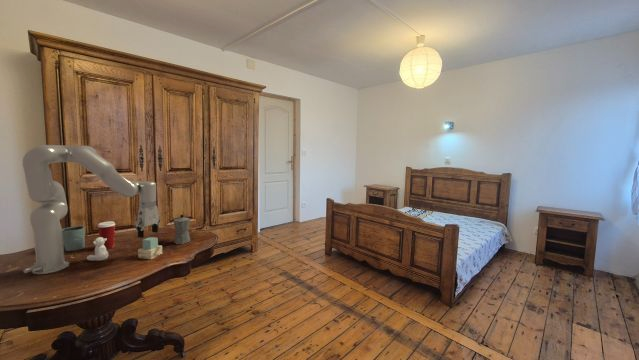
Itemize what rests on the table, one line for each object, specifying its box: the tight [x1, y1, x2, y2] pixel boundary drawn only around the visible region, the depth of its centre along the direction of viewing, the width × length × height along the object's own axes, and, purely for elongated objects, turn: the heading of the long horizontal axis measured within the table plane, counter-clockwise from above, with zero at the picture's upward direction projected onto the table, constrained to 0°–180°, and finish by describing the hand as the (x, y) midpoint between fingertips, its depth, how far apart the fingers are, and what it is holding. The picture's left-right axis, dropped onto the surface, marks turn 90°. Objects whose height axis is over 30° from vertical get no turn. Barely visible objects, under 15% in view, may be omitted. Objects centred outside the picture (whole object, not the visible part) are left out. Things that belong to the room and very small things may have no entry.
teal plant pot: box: [62, 225, 86, 252], centre depth 153 cm, size 10×10×12 cm
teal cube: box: [142, 236, 159, 250], centre depth 146 cm, size 5×5×5 cm
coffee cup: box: [97, 221, 116, 250], centre depth 155 cm, size 8×8×15 cm
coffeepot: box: [173, 214, 191, 245], centre depth 169 cm, size 15×9×18 cm, turn 27°
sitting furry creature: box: [86, 236, 109, 262], centre depth 140 cm, size 10×9×12 cm
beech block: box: [137, 244, 163, 260], centre depth 146 cm, size 8×8×5 cm
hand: (148, 234), depth 145 cm, fingers open, 9 cm apart
